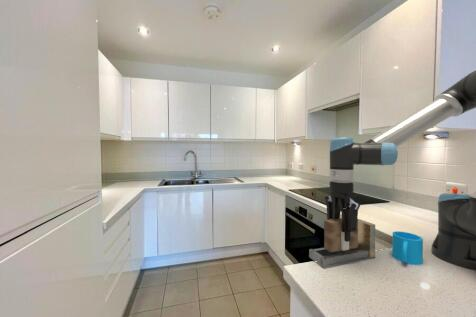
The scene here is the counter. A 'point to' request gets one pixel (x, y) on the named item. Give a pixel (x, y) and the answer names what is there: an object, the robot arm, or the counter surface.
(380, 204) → the counter surface
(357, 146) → the robot arm
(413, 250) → the mug
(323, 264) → the door track
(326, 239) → the door panel
